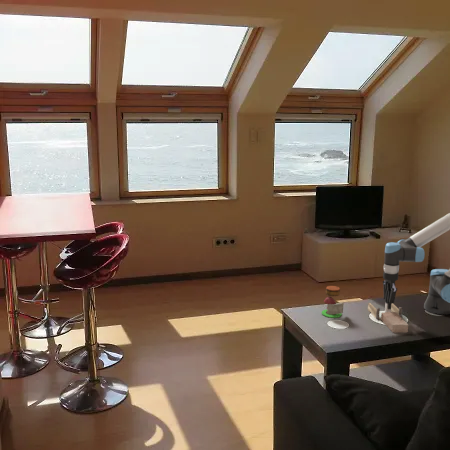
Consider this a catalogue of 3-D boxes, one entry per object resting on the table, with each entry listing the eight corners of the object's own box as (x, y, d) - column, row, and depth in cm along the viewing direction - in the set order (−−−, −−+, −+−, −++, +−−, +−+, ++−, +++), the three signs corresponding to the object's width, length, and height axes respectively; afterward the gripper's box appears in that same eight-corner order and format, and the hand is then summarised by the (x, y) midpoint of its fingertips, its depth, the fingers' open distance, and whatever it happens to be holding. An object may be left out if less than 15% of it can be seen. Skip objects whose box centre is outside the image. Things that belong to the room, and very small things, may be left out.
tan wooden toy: (391, 309, 276) (392, 299, 274) (401, 318, 263) (402, 308, 261) (367, 309, 275) (368, 299, 273) (376, 319, 262) (377, 308, 260)
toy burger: (314, 313, 269) (316, 287, 266) (330, 308, 276) (331, 283, 273) (331, 320, 260) (333, 293, 257) (347, 315, 267) (349, 288, 264)
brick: (408, 332, 247) (409, 324, 246) (392, 333, 246) (393, 324, 245) (395, 319, 263) (396, 311, 262) (380, 320, 262) (380, 311, 261)
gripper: (379, 268, 265) (376, 309, 270) (389, 276, 253) (386, 319, 258) (392, 268, 266) (389, 309, 271) (403, 275, 254) (399, 318, 259)
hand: (387, 314), depth 265 cm, fingers closed
